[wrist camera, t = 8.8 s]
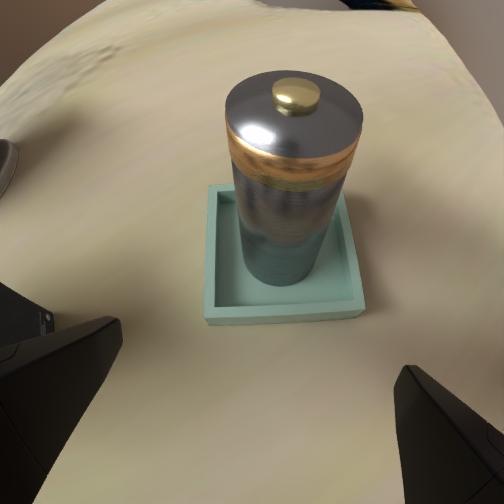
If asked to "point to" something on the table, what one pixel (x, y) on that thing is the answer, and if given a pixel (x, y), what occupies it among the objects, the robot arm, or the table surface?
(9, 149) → the webcam
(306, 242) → the lidded jar
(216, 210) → the tray
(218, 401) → the table surface
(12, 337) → the small box
